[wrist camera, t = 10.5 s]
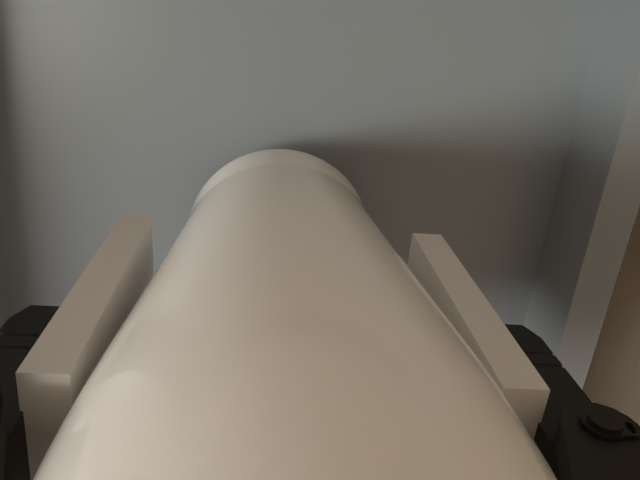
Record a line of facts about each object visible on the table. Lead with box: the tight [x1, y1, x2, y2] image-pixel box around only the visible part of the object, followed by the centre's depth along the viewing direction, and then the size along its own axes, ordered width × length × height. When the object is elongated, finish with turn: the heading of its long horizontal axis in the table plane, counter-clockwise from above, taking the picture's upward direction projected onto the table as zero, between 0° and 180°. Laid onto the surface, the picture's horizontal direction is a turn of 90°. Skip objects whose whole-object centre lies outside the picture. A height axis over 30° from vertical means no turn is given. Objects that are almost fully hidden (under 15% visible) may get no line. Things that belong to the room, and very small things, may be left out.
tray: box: [0, 0, 640, 390], centre depth 18 cm, size 20×20×4 cm
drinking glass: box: [32, 149, 558, 480], centre depth 11 cm, size 7×7×15 cm
